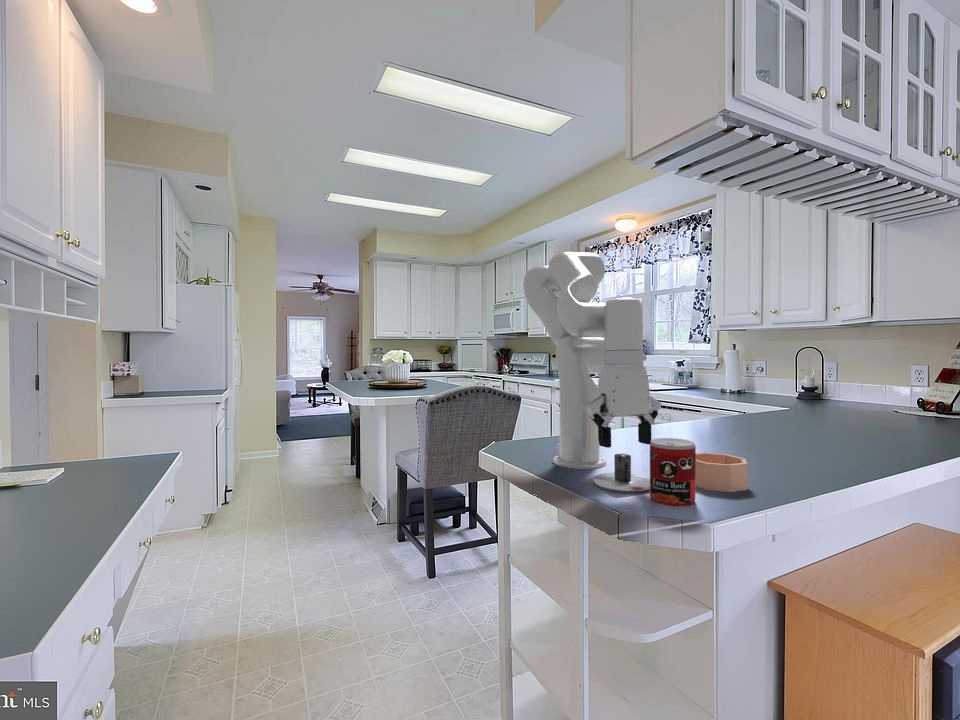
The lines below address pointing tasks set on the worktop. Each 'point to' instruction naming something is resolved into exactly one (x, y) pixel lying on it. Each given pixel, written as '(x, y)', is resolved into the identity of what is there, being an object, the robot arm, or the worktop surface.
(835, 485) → the worktop surface
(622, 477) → the lid
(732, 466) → the bowl
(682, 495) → the canned food
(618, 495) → the plate
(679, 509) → the worktop surface
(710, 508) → the worktop surface
